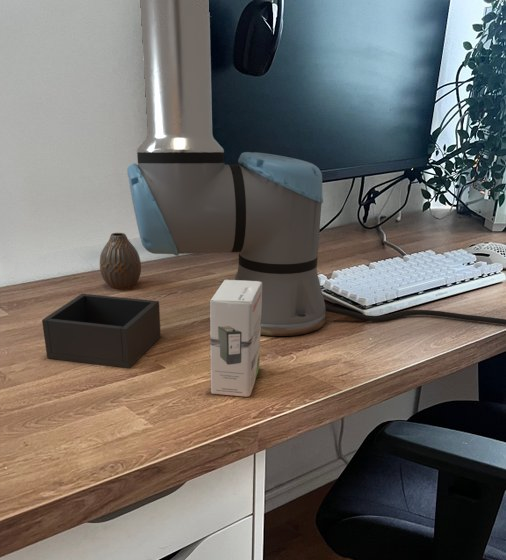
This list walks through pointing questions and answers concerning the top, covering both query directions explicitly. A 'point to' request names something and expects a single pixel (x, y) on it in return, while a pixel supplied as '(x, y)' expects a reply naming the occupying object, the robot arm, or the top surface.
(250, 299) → the ink box
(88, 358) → the box
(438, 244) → the top surface
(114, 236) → the vase
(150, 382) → the top surface
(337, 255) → the top surface
